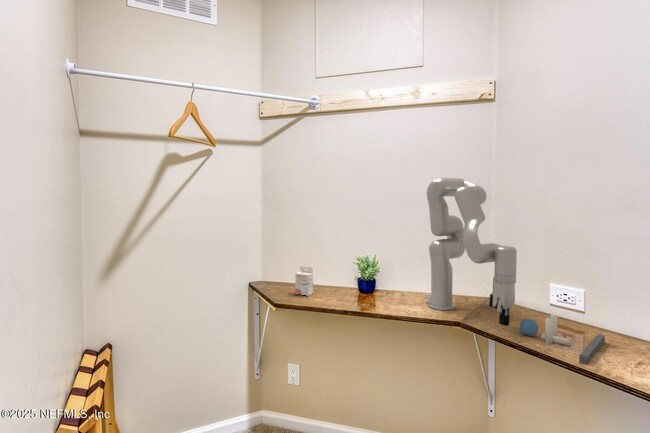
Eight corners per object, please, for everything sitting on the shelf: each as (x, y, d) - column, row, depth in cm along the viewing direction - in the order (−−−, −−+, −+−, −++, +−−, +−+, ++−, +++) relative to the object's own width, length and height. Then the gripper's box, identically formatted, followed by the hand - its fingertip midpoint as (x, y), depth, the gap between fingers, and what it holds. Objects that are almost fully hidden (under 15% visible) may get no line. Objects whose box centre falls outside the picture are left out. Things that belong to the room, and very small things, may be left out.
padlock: (488, 306, 163) (488, 275, 162) (490, 304, 166) (490, 273, 165) (504, 309, 159) (504, 276, 158) (506, 307, 162) (506, 275, 161)
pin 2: (548, 338, 126) (549, 315, 126) (550, 337, 127) (551, 314, 127) (555, 340, 124) (556, 317, 124) (557, 338, 126) (558, 315, 125)
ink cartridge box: (295, 294, 186) (294, 267, 186) (300, 292, 191) (300, 265, 190) (308, 297, 182) (307, 269, 181) (313, 294, 186) (313, 267, 185)
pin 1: (544, 342, 123) (544, 318, 122) (546, 340, 124) (546, 317, 124) (551, 344, 121) (551, 320, 121) (553, 342, 123) (554, 319, 122)
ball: (537, 330, 124) (528, 341, 127) (544, 325, 128) (535, 336, 131) (522, 317, 128) (513, 329, 131) (529, 313, 132) (520, 324, 134)
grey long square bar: (579, 362, 108) (579, 354, 108) (597, 340, 124) (597, 333, 124) (587, 364, 107) (587, 356, 106) (604, 342, 122) (604, 335, 122)
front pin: (540, 335, 125) (569, 342, 119) (542, 331, 126) (570, 338, 120) (541, 340, 126) (569, 347, 120) (543, 336, 127) (571, 343, 121)
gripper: (503, 273, 143) (502, 317, 144) (486, 279, 133) (485, 326, 134) (522, 276, 137) (521, 322, 138) (507, 283, 127) (506, 332, 129)
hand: (504, 324), depth 136 cm, fingers closed
